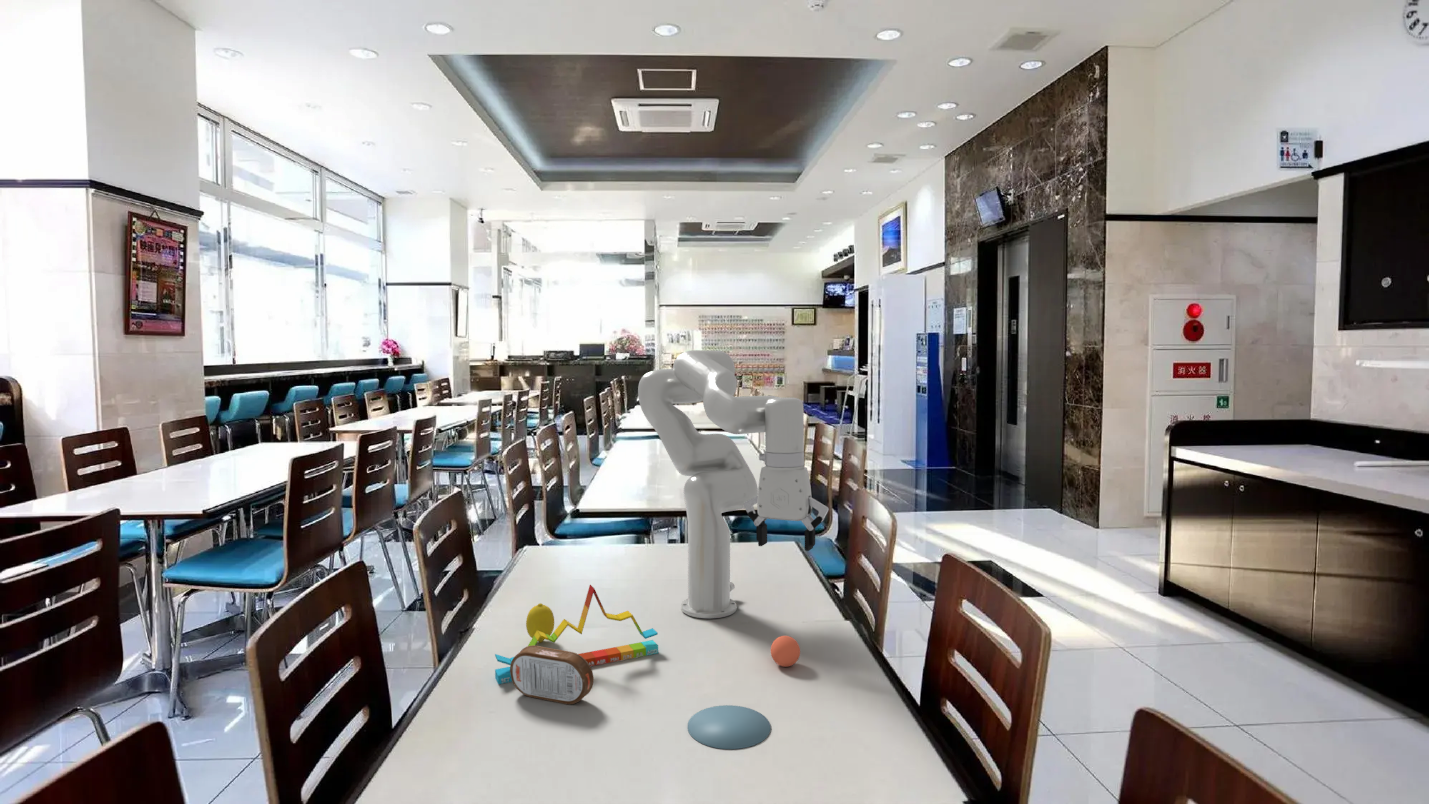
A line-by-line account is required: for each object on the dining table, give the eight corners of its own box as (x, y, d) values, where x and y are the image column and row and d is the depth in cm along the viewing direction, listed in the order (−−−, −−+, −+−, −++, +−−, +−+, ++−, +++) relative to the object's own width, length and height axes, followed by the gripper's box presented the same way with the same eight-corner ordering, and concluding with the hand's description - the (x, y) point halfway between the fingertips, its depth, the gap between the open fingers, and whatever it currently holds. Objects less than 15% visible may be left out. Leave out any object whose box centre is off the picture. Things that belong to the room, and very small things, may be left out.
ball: (776, 656, 141) (777, 629, 140) (803, 662, 138) (804, 634, 138) (766, 668, 136) (766, 639, 135) (794, 673, 133) (794, 644, 133)
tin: (594, 701, 123) (594, 652, 122) (585, 710, 120) (585, 660, 119) (518, 687, 128) (517, 640, 127) (507, 695, 125) (506, 647, 124)
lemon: (547, 648, 144) (547, 609, 143) (521, 646, 145) (521, 607, 145) (559, 638, 149) (558, 599, 149) (533, 635, 150) (533, 597, 150)
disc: (710, 699, 123) (710, 698, 123) (782, 717, 118) (782, 716, 117) (672, 736, 112) (672, 735, 112) (750, 757, 106) (750, 756, 106)
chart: (498, 686, 129) (497, 603, 127) (495, 679, 131) (493, 598, 130) (658, 655, 142) (658, 580, 141) (652, 649, 145) (652, 575, 144)
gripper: (736, 461, 143) (737, 547, 144) (821, 464, 136) (822, 555, 137) (751, 456, 150) (752, 539, 151) (833, 460, 143) (833, 546, 143)
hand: (785, 546), depth 144 cm, fingers open, 9 cm apart
